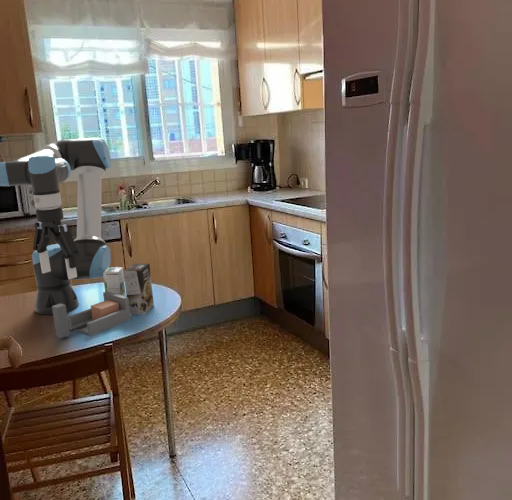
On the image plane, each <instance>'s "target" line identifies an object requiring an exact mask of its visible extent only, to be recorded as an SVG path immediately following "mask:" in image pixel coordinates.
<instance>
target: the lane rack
mask: <svg viewBox="0 0 512 500" xmlns="http://www.w3.org/2000/svg"><path fill="white" fill-rule="evenodd" d="M102 294H103V301H105V300H111V301H114V302H118V303H119V311H116V312H114V313H111V314H109V315H106V316H103V317H101V318H98V319H96V320H93V321H92V313H91V308H88V309H85V310H83V311H80V312H76V313H74V314H72V315H70V316H67V317H68V323H69V329H71V328H74V327H76V326H79V325H81V324H84V323H87V322H88V323H87V326H86V327H83V328H81V329H78V330H76V331H77V332H81V333H83V334H86V335H87V336H95V335H96V334H99V333H101V332H103V331H106V330H108V329H111V328H113V327H116V326H118V325H120V324H123V323H126V322H127V321H130V320H131V319H132V317H131V314H130V308H129V300H128V297H126V296H122V295H118V294H114V293H111V292H107V291H106V292H105V291H103V292H102ZM89 321H90V322H89Z"/></svg>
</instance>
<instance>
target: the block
mask: <svg viewBox="0 0 512 500" xmlns="http://www.w3.org/2000/svg"><path fill="white" fill-rule="evenodd" d="M90 309H91V313H92V321H93V320H96V319H98V318H101V317H103V316H106V315H109V314H111V313H114V312H116V311H119V303H118V302H114V301H111V300H105V301H104V300H102V301H100V302H98V303H95V304H92V305H90ZM52 311H53V314H52V315H53V316H52V317H53V321H54V330H55V334H56V337H58V338H60V339H62V338H65V337H67V336H70V335H71V333H73V332H75V331H77V330H78V329H81V328H83V327H86V326H87V323H88V322H87V323H84V324H81V325H79V326H76V327H74V328H70V326H69V320H68V317H69V316H68V311H67V310H66V305H64V304H61V303H60V304H57V305H54V306H52ZM89 322H90V321H89Z"/></svg>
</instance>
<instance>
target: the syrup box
mask: <svg viewBox="0 0 512 500" xmlns="http://www.w3.org/2000/svg"><path fill="white" fill-rule="evenodd" d="M102 278H103V283H104V292H106V291H107V292H111V293H114V294H118V295H122V296H126V288H125V279H124V267H123V266H122V267H120V266H114V267H112V266H111V267H109V268H107V269H106V270H105V271H104V272H103V277H102Z"/></svg>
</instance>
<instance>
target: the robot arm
mask: <svg viewBox="0 0 512 500" xmlns="http://www.w3.org/2000/svg"><path fill="white" fill-rule="evenodd" d="M110 154H111V153H110V149H109V146H108V144H107V142H106V140H105V139H103V138H102V137H89V138H88V137H87V138H85V137H84V138H69V139H68V138H67V139H61V140H57V141H54V142H51V143H48V144H45V145H42V146H41V147H39V148H38V149H37V150H36V151H35V152H32V153H31V154H28V155H25V156H22V157H20V158H17V159H15V160H11V161H3V162H2V161H1V162H0V187H15V186H17V187H18V186H28V185H29V186H30V185H31V189H32V194H33V202H34V207H35V208H36V209H35V215H36V219H37V221H36V222H35V223H34V228H35V231H34V238H33V245H32V250H34V251H33V252H32V254H31V258H32V267H33V272H34V279H35V283H36V290H37V291H36V298H35V303H34V308H35V312H36V313H37V314H40V315H46V316H47V315H48V316H49V315H53V311H52V306H54V305H57V304H60V303H61V304H64V305H66V310H67V312H69V311H72V310H74V309H76V308H77V307H78V306H79V304H80V303H79V299H78V296H77V294H76V292H75V290H74V289H73V287H72V284H71V283H72V282H71V281H73V280H74V281H76V280H94V279H102V278H104V277H103V272H104V271H105V270H106V269H107V268H111V267H110V266H111V261H112V259H111V257H112V255H111V249H110V247H109V246H108V245H106V241H105V240H104V239H103V238H102V179H103V177H104V176H106V173H107V170H108V169H110V168H111V165H112V159H111V155H110ZM72 171H73V174H74V175H75V176H77V203H76V208H77V209H76V238H75V239H74V238H73V236H72V234H71V231H70V226H69V224H68V223H65V224H62V222H61V221H62V220H63V219H64V210H63V207H62V204H63V203H62V197H61V192H60V185H59V184H60V183H61V184H62V183H63V182H65V181H67V179H68V178H69V177H71V172H72ZM51 239H53V241H55V242H57V243H55V244H50V245H49V243H50V240H51Z"/></svg>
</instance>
